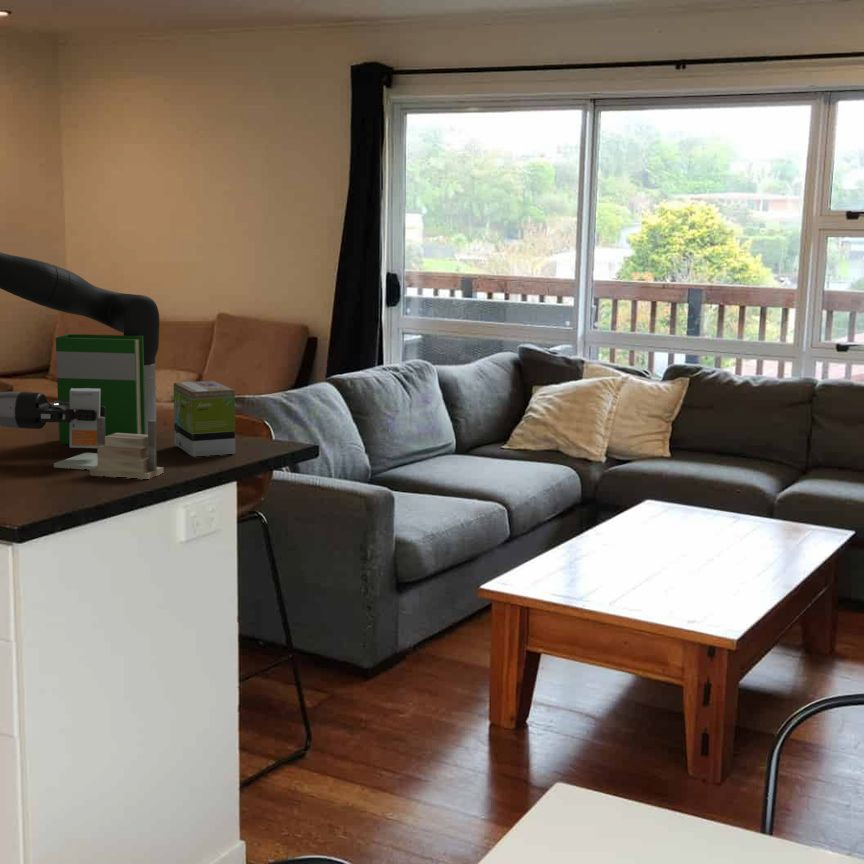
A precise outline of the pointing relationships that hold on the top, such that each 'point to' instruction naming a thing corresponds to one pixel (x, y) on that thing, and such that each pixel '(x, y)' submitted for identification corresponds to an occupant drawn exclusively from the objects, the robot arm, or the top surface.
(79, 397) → the skincare box
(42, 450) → the top surface
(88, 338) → the hardback book
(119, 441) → the offcut rack
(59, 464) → the sage mat
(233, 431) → the tea box
